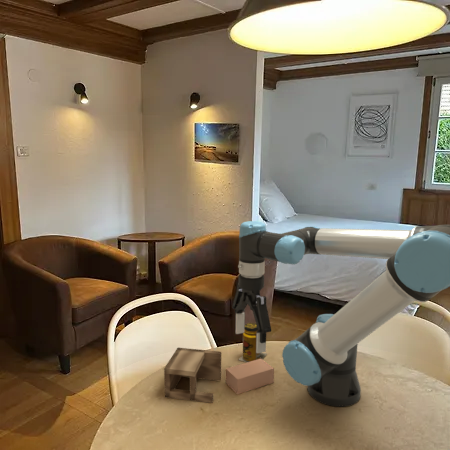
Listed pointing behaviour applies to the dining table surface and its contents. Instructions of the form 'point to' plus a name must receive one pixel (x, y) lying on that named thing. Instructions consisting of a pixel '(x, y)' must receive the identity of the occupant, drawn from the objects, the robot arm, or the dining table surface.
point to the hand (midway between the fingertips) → (249, 342)
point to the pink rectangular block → (249, 376)
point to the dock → (191, 372)
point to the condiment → (250, 343)
